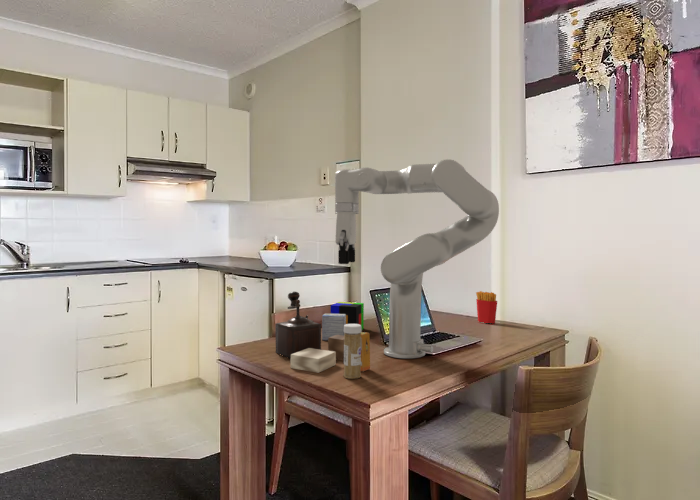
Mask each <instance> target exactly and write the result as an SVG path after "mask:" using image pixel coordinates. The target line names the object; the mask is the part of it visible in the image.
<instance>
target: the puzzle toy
mask: <svg viewBox="0 0 700 500" xmlns="http://www.w3.org/2000/svg"><path fill="white" fill-rule="evenodd" d="M364 303H365V302H348V301H347V302H346V301H337V302H336V303H334V304H331V305H330V314H346V324H360V325H361V327H362V330H364V322H365V320H364V318H365V317H364V313H365V309H364V307H365V306H364V305H365V304H364Z"/></svg>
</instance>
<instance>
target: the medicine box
mask: <svg viewBox="0 0 700 500" xmlns="http://www.w3.org/2000/svg"><path fill="white" fill-rule="evenodd" d="M321 320H322V321H321V341H328V338H329V337H332V336H335V335H343V336H344V325H345V324H346V314H331V313H324V314H322V316H321Z"/></svg>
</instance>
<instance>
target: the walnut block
mask: <svg viewBox="0 0 700 500" xmlns="http://www.w3.org/2000/svg"><path fill="white" fill-rule="evenodd" d="M327 341H328V343H327V345H328V346H327V351H334V352H336V360H340V361H344V336H343V335H335V336H332V337H329V338H328V340H327Z"/></svg>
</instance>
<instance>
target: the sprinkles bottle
mask: <svg viewBox="0 0 700 500" xmlns="http://www.w3.org/2000/svg"><path fill="white" fill-rule="evenodd" d="M361 332H363V329H362V327H361V325H360V324H345V325H344V360H343V365H344V367H343V369H344V370H343V377H344V378H345V379H349V380H354V379H355V380H357V379H359V378H361V377H362V374H361V372H362V371H360V370H361V369H360V368H361V366H360V365H361Z"/></svg>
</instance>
